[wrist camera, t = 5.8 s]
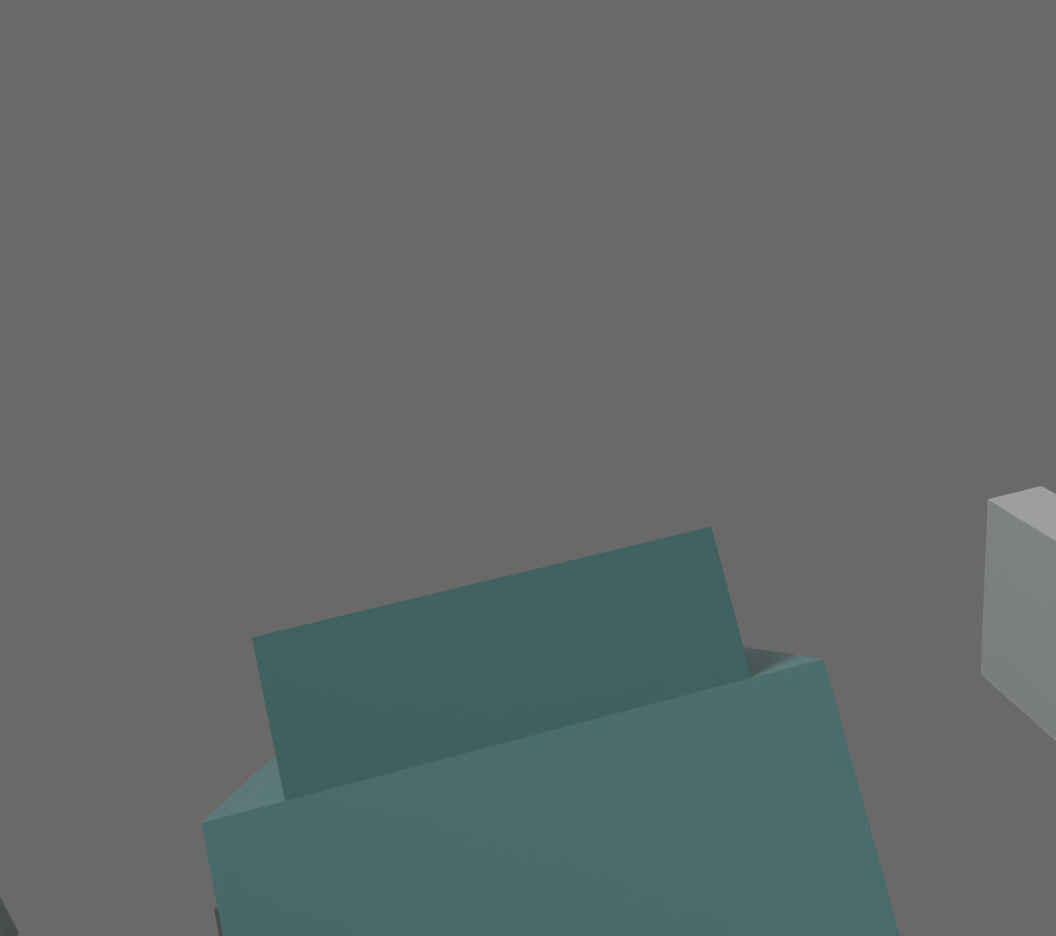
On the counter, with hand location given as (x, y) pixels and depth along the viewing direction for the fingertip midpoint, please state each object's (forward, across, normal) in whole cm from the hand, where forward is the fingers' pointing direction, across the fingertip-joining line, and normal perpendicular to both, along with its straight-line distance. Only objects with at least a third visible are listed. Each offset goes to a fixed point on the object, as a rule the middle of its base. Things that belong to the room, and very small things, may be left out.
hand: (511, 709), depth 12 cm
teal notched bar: (+5, 0, -6) cm, 8 cm away
